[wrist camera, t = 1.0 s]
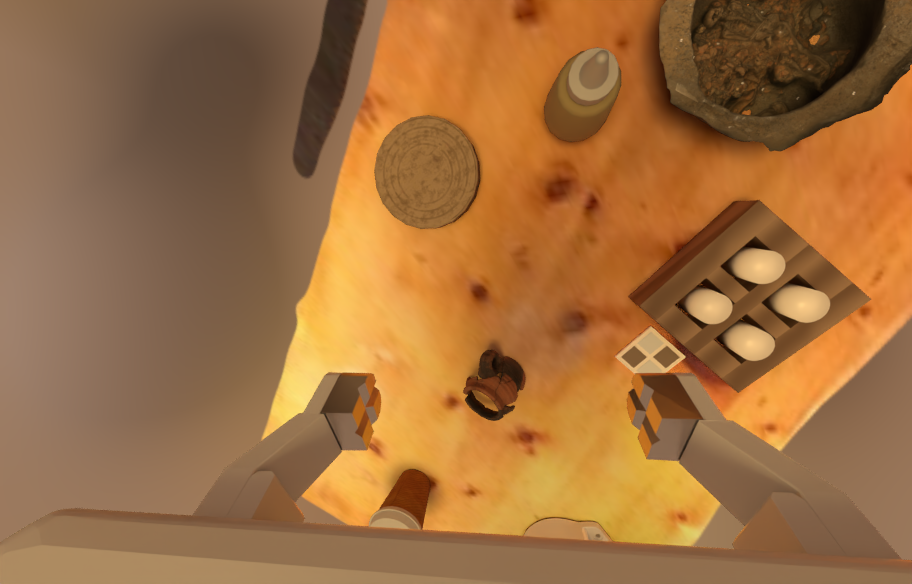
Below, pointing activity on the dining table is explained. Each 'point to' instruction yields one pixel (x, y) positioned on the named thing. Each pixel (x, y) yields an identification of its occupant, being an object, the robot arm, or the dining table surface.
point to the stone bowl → (782, 62)
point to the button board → (745, 291)
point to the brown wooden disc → (427, 172)
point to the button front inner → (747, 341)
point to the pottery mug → (495, 385)
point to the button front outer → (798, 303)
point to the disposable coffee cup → (404, 503)
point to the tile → (649, 353)
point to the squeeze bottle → (583, 95)
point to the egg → (706, 305)
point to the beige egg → (755, 265)
